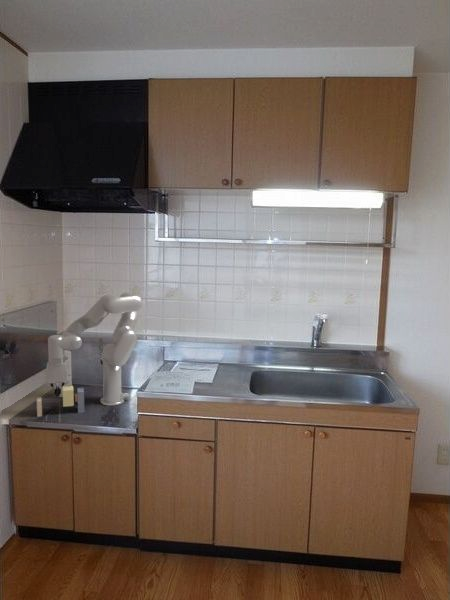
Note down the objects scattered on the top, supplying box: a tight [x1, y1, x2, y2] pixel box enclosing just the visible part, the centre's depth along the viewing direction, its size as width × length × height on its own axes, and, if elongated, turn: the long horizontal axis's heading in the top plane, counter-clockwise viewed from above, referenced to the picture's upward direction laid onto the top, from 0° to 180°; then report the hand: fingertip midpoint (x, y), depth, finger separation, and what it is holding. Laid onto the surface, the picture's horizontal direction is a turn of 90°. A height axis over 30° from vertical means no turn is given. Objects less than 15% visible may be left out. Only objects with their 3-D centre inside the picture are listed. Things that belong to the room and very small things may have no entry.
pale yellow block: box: [62, 385, 75, 407], centre depth 224 cm, size 5×6×8 cm
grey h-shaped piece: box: [36, 387, 85, 418], centre depth 224 cm, size 22×6×11 cm, turn 110°
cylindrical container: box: [57, 350, 73, 397], centre depth 244 cm, size 7×7×25 cm
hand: (57, 395), depth 223 cm, fingers closed
